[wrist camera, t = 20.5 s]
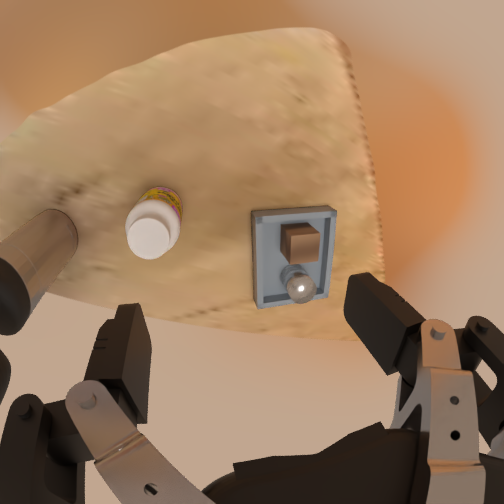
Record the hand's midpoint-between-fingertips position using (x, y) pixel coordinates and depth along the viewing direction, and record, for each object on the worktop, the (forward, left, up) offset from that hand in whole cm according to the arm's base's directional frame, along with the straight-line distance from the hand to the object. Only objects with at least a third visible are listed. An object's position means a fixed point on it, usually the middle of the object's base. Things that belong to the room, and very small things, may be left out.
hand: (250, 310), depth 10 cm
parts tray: (+13, -14, -32) cm, 37 cm away
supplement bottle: (-7, -4, -32) cm, 33 cm away
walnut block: (+13, -10, -31) cm, 35 cm away
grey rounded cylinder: (+13, -18, -31) cm, 38 cm away
